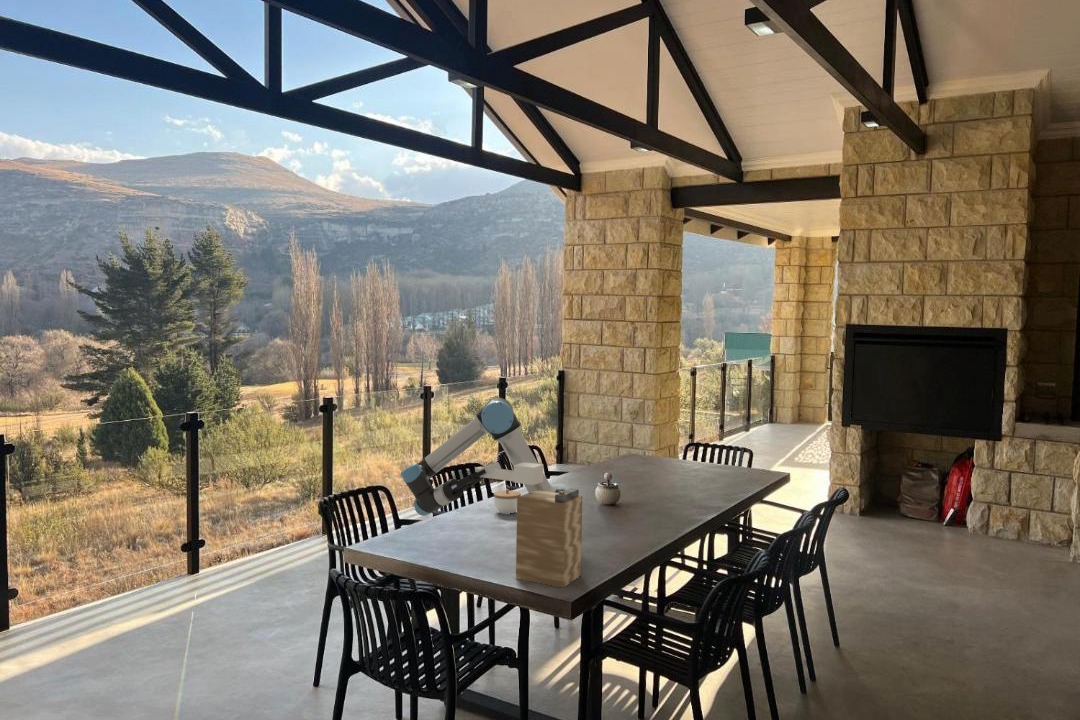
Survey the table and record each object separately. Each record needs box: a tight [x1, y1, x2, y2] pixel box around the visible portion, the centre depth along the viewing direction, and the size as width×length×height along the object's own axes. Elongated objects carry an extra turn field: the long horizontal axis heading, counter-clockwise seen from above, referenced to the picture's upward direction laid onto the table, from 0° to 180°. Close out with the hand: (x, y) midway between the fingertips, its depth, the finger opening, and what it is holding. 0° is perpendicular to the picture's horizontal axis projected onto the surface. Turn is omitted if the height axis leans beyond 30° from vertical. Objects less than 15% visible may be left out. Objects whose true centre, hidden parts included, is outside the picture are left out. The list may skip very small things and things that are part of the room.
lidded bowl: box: [493, 488, 522, 515], centre depth 341 cm, size 13×13×11 cm
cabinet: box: [515, 487, 583, 589], centre depth 251 cm, size 14×18×31 cm
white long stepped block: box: [474, 462, 544, 485], centre depth 258 cm, size 7×25×6 cm, turn 62°
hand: (495, 466), depth 260 cm, fingers closed on white long stepped block, 3 cm apart
